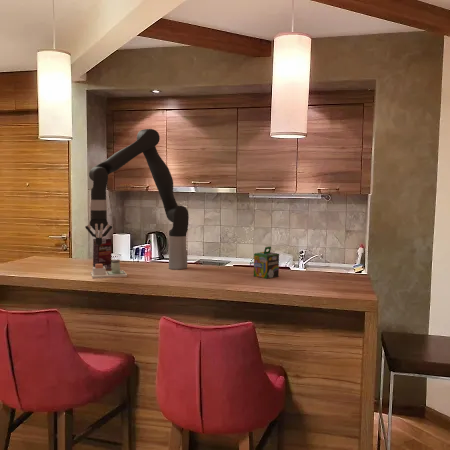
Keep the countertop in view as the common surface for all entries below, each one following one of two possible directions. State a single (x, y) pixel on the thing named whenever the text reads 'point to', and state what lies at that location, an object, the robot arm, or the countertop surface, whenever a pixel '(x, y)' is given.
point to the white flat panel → (110, 275)
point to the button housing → (99, 271)
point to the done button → (98, 265)
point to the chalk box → (266, 264)
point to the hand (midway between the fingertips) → (98, 245)
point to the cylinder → (115, 266)
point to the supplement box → (102, 253)
